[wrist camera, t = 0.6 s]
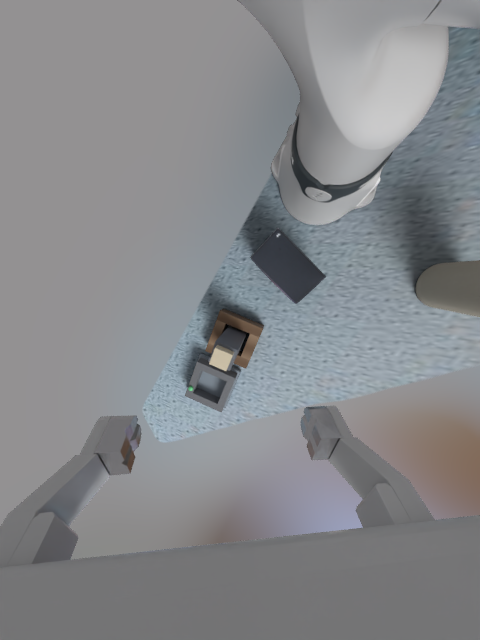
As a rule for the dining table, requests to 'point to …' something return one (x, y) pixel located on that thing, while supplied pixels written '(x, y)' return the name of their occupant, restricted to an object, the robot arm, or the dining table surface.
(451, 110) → the dining table surface
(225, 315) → the frame
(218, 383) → the dock
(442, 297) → the travel mug
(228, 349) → the plug
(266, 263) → the small box
